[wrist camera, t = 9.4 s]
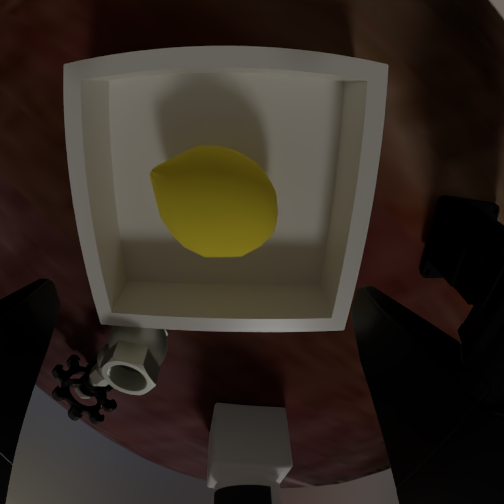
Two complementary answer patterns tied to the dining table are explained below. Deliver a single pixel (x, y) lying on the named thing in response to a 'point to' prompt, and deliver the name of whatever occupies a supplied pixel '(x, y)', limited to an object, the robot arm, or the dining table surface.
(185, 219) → the lemon
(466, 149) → the dining table surface
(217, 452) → the medicine bottle
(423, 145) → the dining table surface
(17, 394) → the robot arm
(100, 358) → the valve
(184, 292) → the walled box
